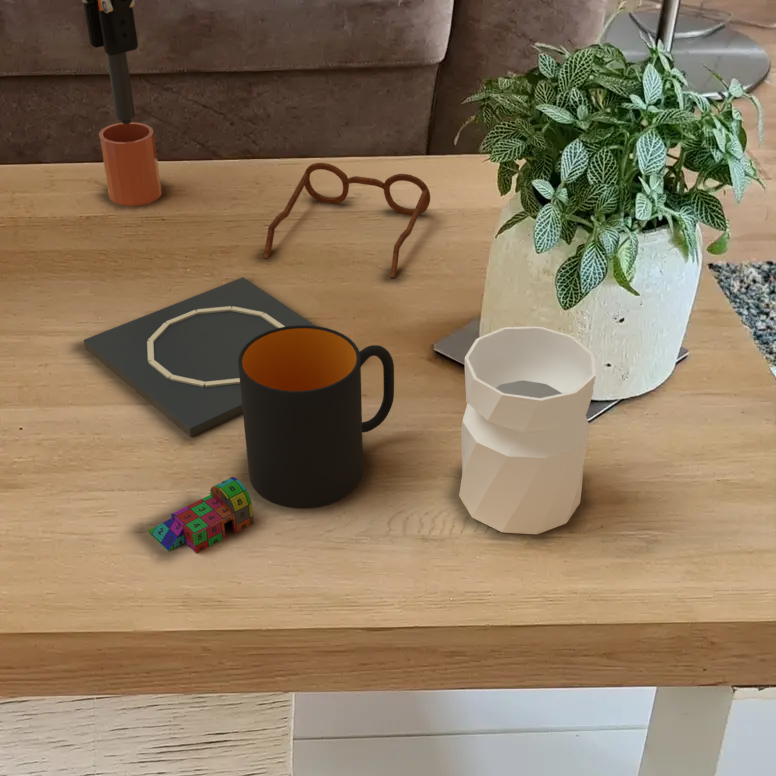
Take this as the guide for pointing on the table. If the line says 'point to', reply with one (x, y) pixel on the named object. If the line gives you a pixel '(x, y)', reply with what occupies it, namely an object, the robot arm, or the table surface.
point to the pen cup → (130, 163)
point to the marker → (120, 85)
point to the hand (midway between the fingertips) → (114, 46)
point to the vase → (525, 428)
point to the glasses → (305, 181)
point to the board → (193, 352)
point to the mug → (307, 413)
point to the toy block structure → (207, 518)
